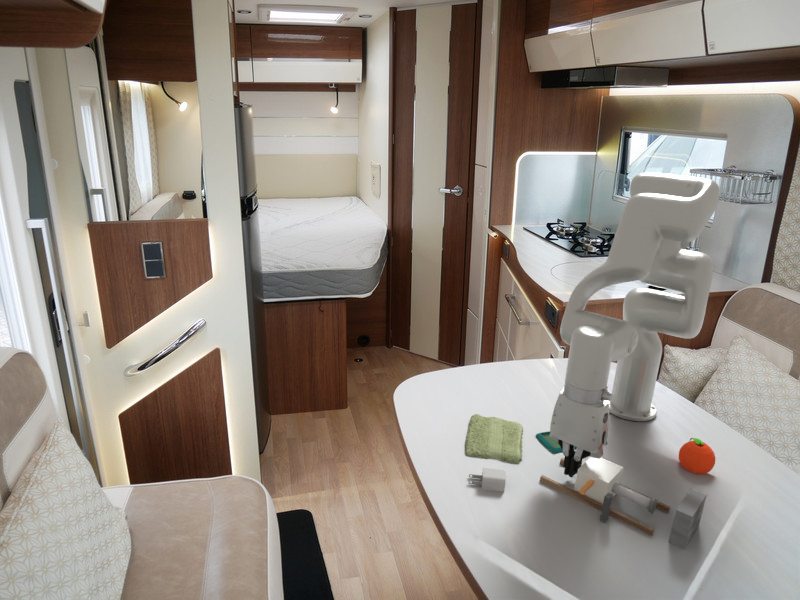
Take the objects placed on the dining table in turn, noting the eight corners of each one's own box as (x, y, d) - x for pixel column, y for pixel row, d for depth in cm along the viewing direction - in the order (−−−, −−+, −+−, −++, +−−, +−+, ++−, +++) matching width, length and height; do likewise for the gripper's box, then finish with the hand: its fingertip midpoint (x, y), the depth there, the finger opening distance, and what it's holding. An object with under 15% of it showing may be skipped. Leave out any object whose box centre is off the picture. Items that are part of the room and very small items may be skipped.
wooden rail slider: (553, 459, 127) (558, 426, 124) (701, 528, 108) (711, 490, 106) (519, 488, 117) (523, 453, 114) (675, 569, 98) (685, 529, 96)
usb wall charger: (503, 498, 114) (505, 480, 113) (467, 493, 115) (469, 476, 114) (503, 485, 118) (505, 468, 116) (468, 481, 119) (470, 464, 117)
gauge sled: (589, 477, 119) (593, 454, 117) (659, 509, 110) (664, 485, 109) (563, 503, 111) (567, 478, 109) (636, 540, 102) (641, 513, 101)
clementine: (668, 458, 129) (675, 429, 127) (701, 460, 129) (707, 431, 127) (683, 480, 122) (690, 450, 119) (717, 482, 121) (725, 453, 119)
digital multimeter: (608, 450, 132) (610, 439, 131) (551, 461, 127) (553, 449, 126) (588, 433, 138) (590, 422, 137) (533, 442, 133) (534, 431, 132)
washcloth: (523, 429, 139) (525, 417, 138) (523, 473, 123) (524, 459, 122) (467, 421, 141) (468, 409, 140) (460, 463, 125) (461, 450, 124)
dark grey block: (603, 516, 108) (608, 492, 106) (608, 518, 107) (612, 494, 106) (599, 520, 107) (604, 496, 105) (604, 522, 106) (609, 498, 105)
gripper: (631, 397, 109) (615, 481, 115) (557, 371, 119) (546, 450, 125) (615, 412, 104) (599, 498, 110) (539, 383, 113) (528, 465, 119)
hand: (571, 472), depth 117 cm, fingers closed
